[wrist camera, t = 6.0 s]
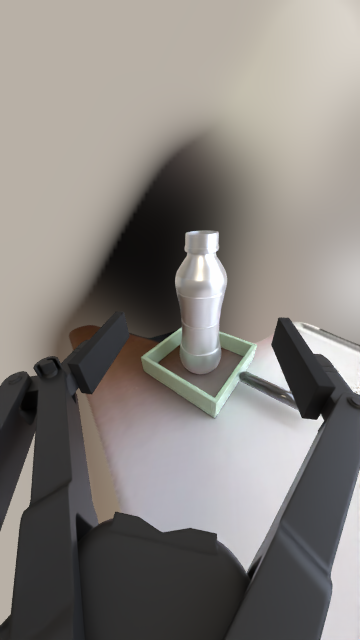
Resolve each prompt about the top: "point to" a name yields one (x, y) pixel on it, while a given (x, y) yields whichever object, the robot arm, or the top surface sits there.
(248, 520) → the top surface
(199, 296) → the plastic bottle
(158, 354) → the pan
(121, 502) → the top surface
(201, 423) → the top surface
